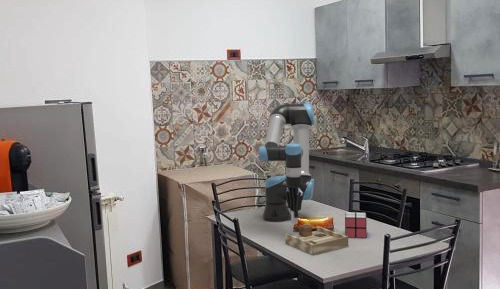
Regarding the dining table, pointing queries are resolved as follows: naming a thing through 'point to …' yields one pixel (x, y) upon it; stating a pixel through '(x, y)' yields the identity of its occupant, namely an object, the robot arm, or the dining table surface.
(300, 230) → the block
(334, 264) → the dining table surface
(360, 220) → the puzzle cube
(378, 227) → the dining table surface
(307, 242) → the wooden sorting tray
